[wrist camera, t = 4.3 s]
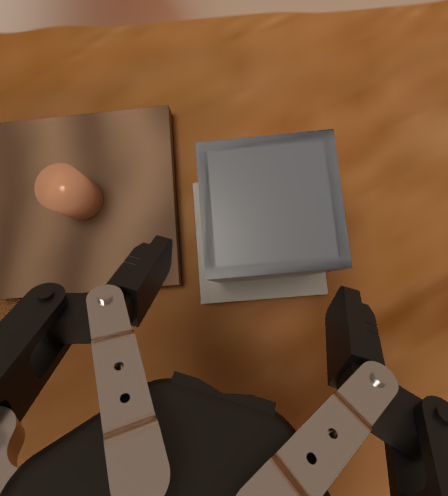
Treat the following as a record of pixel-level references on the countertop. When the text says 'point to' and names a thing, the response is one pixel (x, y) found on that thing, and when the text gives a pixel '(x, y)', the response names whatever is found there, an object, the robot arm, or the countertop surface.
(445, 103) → the countertop surface
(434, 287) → the countertop surface
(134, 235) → the walnut board
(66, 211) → the pink rounded lump
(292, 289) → the rubber mat
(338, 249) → the grey upright block
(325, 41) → the countertop surface
